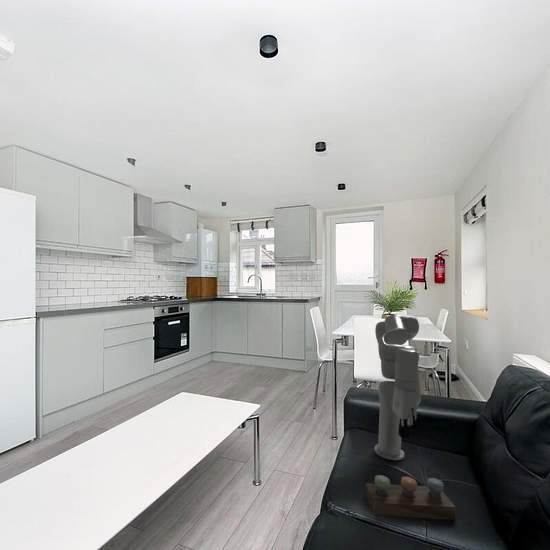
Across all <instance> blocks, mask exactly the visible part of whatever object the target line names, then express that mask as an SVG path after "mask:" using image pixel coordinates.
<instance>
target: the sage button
mask: <svg viewBox="0 0 550 550" xmlns="http://www.w3.org/2000/svg"><path fill="white" fill-rule="evenodd" d="M374 484H375V486H376V487H377V494H378V496H382V497H387V490H388V489H389V488H390V485H391V481H390V478H388V477H387V476H385V475H381V474H378V475H375V476H374Z"/></svg>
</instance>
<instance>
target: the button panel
mask: <svg viewBox="0 0 550 550" xmlns="http://www.w3.org/2000/svg"><path fill="white" fill-rule="evenodd" d="M364 486H365V487H364V497H365V498H366V501H367V503H368V505H369V507H370V509H371V512H372V513H373V515H374V516H377V517H393V518H395V517H397V518H411V519H413V518H415V519H435V520H436V519H437V520H451V521H452V520H456V506H455V504H454V503H453V502H452V501H451V500H450V498H449V497H448V496H447V495H446V494H445V492H444V491H443V492H442V493H441V495H440V499H432V498H431V496H430V489H429V488H428V487H427V485H426V486H425V485H417V489H416V491H414V498H405V496H404V495H403V488H402V486H401V484H390V488H389V489H388V490H387V497H382V496H378V494H377V487H376V486H375V483H365V485H364Z"/></svg>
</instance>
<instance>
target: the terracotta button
mask: <svg viewBox="0 0 550 550" xmlns="http://www.w3.org/2000/svg"><path fill="white" fill-rule="evenodd" d="M400 479H401V480H400V485H401V486H402V488H403V495H404V496H405V498H414V491H416V489H417V486H418V483H417V481H416V479H414V478H413V477H410V476H402V477H401V478H400Z"/></svg>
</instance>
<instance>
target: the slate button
mask: <svg viewBox="0 0 550 550" xmlns="http://www.w3.org/2000/svg"><path fill="white" fill-rule="evenodd" d="M426 483H427V485H426V486H427V487H428V488H429V489H430V496H431V498H432V499H440V495H441V493H442V492H443V493H444V482H443V481H441V479H438V478H435V477H428V479H427V482H426Z"/></svg>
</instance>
